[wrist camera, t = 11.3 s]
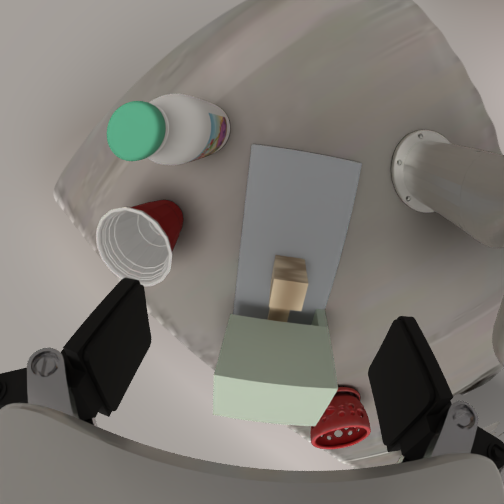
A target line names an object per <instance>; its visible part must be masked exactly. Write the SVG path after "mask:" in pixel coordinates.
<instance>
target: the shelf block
mask: <svg viewBox="0 0 504 504" xmlns="http://www.w3.org/2000/svg"><path fill="white" fill-rule="evenodd" d="M337 390H338V384H337V377H336V371H335V364H334V358H333V352H332V346H331V341H330V335H329V329H328V324H327V319H326V313H325V310H322V309H316V311H315V314H314V317H313V321H312V324H311V325H304V324H296V323H288V322H280V321H273V320H266V319H259V318H252V317H246V316H239V315H233V314H230V317H229V321H228V325H227V328H226V332H225V336H224V339H223V343H222V347H221V351H220V354H219V358H218V362H217V365H216V369H215V373H214V391H213V392H214V393H213V415H217V416H223V417H229V418H235V419H241V420H248V421H256V422H265V423H275V424H285V425H300V426H316V424H317V423H318V421H319V420H320V418H321V416H322V415H323V413H324V412H325V410H326V408H327V407H328V405H329V404H330V402H331V400H332V398H333V397H334V395H335V393H336V392H337Z"/></svg>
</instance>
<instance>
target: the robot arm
mask: <svg viewBox="0 0 504 504" xmlns="http://www.w3.org/2000/svg"><path fill="white" fill-rule="evenodd" d="M418 135H419V137H418ZM397 160H398V163H397ZM391 174H392V181H393V185H394V188H395V190H396V192H397V194H398V196H399V197H400V198H401V200H402V201H403V202H404V203H405V204H406V205H408V206H409V207H410V208H412V209H414V210H416V211H418V212H422V213H431V212H437V213H438V214H440V215H442V216H443V217H445V218H446V219H448V220H449V221H450V222H452V223H453V224H455V225H456V226H458V227H459V228H461V229H462V230H463V231H465V232H466V233H468V234H469V235H470V236H472V237H473V238H475V239H476V240H477V241H479V242H480V243H482V244H484V245H486V246H488V247H493V248H502V247H504V155H500V154H496V153H492V152H488V151H484V150H479V149H474V148H470V147H465V146H460V145H454V144H451V143H450V142H449V141H448V140H447V139H446V138H445V137H444V136H442V135H441V134H439V133H437V132H434V131H431V130H417V131H414V132H412V133H410V134H408V135H407V136H405V137H404V138H403V139H402V140H401V141H400V143H399V144H398V146H397V148H396V150H395V152H394V155H393V159H392V166H391ZM406 196H407V198H406ZM492 343H493V349H494V352H495V355H496V357H497V359H498V361H499V362H500V363H501V364H502V366H503V367H504V296H503V300H502V303H501V305H500V309H499V311H498V314H497V318H496V321H495V324H494V328H493V335H492ZM150 344H151V333H150V327H149V322H148V314H147V307H146V299H145V291H144V286H143V285H141V284H140V282H139V280H136V279H131V278H126V277H125V278H123V279H122V280H121V281H120V282H119V283H118V284H117V285H116V286H115V287H114V289H113V290H112V291H111V292H110V293H109V294H108V295H107V296H106V297H105V299H104V300H103V301H102V302H101V303H100V304H99V305H98V306H97V308H96V309H95V310H94V311H93V312H92V313H91V314H90V316H89V317H88V318H87V319H86V320H85V321H84V323H83V324H82V325H81V326H80V328H79V329H78V330H77V331H76V332H75V334H74V335H73V336H72V337H71V338H70V340H69V341H68V342H67V343H66V345H65V346H64V347H63V348H64V349H63V350H62V351H61V353H60V352H59V351H58V350H56V349H53V348H43V349H40V350H38V351H36V352H35V353H33V355H32V356H31V357H30V358H29V361H28V363H27V368H23V369H19V370H15V371H10V372H6V373H2V374H0V504H504V443H503V442H502V441H501V440H499V439H498V438H496V437H494V436H493V435H491V434H490V433H488V432H486V431H485V430H483V429H481V428H479V427H478V416H477V412H476V411H475V409H474V408H473V406H472V405H470V404H469V403H467V402H464V401H456V402H454V403H453V404H451V401H450V400H451V399H452V398H453V395H452V393H451V390H450V388H449V386H448V384H447V381H446V379H445V377H444V375H443V373H442V371H441V368H440V366H439V364H438V362H437V360H436V358H435V356H434V354H433V352H432V350H431V348H430V346H429V344H428V342H427V340H426V339H425V337H424V335H423V333H422V331H421V329H420V327H419V326H418V324H417V322H416V320H415V319H414V317H406V316H400V317H398V318H397V320H394V321H393V323H392V325H391V327H390V329H389V331H388V333H387V335H386V337H385V339H384V341H383V343H382V345H381V347H380V349H379V351H378V353H377V355H376V356H375V358H374V360H373V362H372V364H371V365H370V367H369V371H368V376H369V380H370V384H371V388H372V393H373V397H374V401H375V406H376V410H377V415H378V419H379V424H380V429H381V434H382V439H383V443H384V445H387V450H388V452H392V451H398V450H401V452H402V455H401V457H400V458H399V460H398V462H397V464H392V465H385V466H378V467H371V468H362V469H351V470H336V471H284V470H269V469H257V468H248V467H240V466H233V465H227V464H221V463H215V462H210V461H205V460H200V459H195V458H191V457H187V456H182V455H178V454H175V453H171V452H167V451H163V450H160V449H156V448H153V447H150V446H147V445H144V444H141V443H138V442H135V441H133V440H130V439H127V438H124V437H121V436H118V435H116V434H113V433H111V432H108V431H106V430H103V429H101V428H99V427H97V424H96V420H95V417H96V415H97V413H98V412H99V413H101V414H104V415H106V416H108V417H109V416H110V414H111V412H112V411H116V410H117V408H118V406H119V404H120V402H121V400H122V398H123V396H124V394H125V392H126V390H127V388H128V387H129V385H130V383H131V381H132V379H133V377H134V375H135V373H136V371H137V369H138V367H139V366H140V364H141V362H142V360H143V358H144V356H145V354H146V353H147V350H148V349H149V347H150Z"/></svg>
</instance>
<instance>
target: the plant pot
mask: <svg viewBox="0 0 504 504" xmlns="http://www.w3.org/2000/svg"><path fill="white" fill-rule="evenodd" d="M361 416H362V417H361ZM354 427H356V428H354ZM344 428H348V429H347V430H345V429H344ZM358 429H360V430H359V432H358ZM336 430H341V431H342V432H343V434H342V436H341V437H336V436H335V435H334V432H335V431H336ZM349 431H352V434H351V435H348V432H349ZM370 432H371V429H370V423H369V419H368V416H367V413H366V411H365V409H364V407H363V405H362V404H361V402H360V394H359V393H358V392H357V391H356V390H354V389H352V388H348V387H338V390H337V392H336V393H335V395H334V397H333V398H332V400H331V402H330V404H329V405H328V407H327V408H326V410H325V412H324V413H323V415H322V416H321V418H320V420H319V421H318V423H317V424H316V426H311V443H312V445H313V446H315V447H317V448H321V449H338V448H344V447H348V446H351V445H354V444H356V443H358V442H360V441H362V440H364V439H365V438H366V437H367V436H368V435H369V434H370ZM321 435H323V437H321ZM327 436H330V437H331V440H328V439H327Z"/></svg>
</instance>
